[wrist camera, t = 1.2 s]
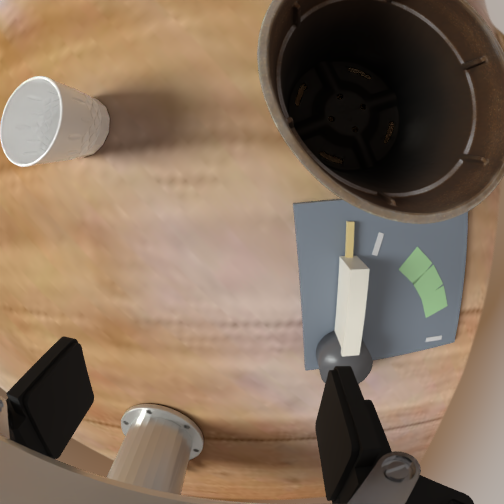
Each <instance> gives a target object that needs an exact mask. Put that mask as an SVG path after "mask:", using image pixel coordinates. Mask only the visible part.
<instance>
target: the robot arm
mask: <svg viewBox="0 0 504 504" xmlns="http://www.w3.org/2000/svg"><path fill="white" fill-rule="evenodd" d="M7 396H8V399H7V400H5V399H4V398H3V397H1V396H0V504H264V503H245V502H231V501H221V500H212V499H204V498H197V497H190V496H184V495H181V491H182V487H183V483H184V478H185V474H186V470H187V466H188V461H189V460H190V459H193V458H195V457H196V456H198V455H199V454H200V453H201V451H202V449H203V444H204V437H203V434H202V432H201V430H200V429H199V427H198V426H197V425H196V424H195V423H194V422H193V421H192V420H190V419H189V418H188V417H186V416H185V415H183V414H182V413H180V412H178V411H175V410H173V409H171V408H168V407H165V406H160V405H156V404H139V405H135V406H133V407H131V408H129V409H128V410H127V411H126V412H125V413H124V415H123V417H122V420H121V427H122V431H123V433H124V435H125V438H124V440H123V443H122V445H121V447H120V449H119V451H118V454H117V456H116V458H115V460H114V463H113V465H112V467H111V469H110V471H109V474H108V476H107V478H106V477H103V476H100V475H96V474H94V473H91V472H87V471H84V470H82V469H79V468H76V467H73V466H71V465H68V464H65V463H63V462H60V461H58V460H55V459H57V458H59V457H60V455H61V453H62V452H63V450H64V448H65V447H66V445H67V443H68V442H69V440H70V439H71V437H72V435H73V434H74V432H75V431H76V429H77V427H78V426H79V424H80V423H81V421H82V419H83V418H84V416H85V415H86V413H87V411H88V410H89V408H90V407H91V405H92V403H93V401H94V394H93V391H92V387H91V383H90V380H89V376H88V372H87V368H86V364H85V360H84V356H83V352H82V347H81V345H80V344H79V343H78V341H77V340H76V339H73V338H68V337H62V338H60V339H59V340H58V341H57V342H56V343H55V344H54V345H53V346H52V347H51V348H50V349H49V350H48V351H47V352H46V353H45V354H44V355H43V356H42V357H41V358H40V359H39V360H38V361H37V362H36V363H35V364H34V365H33V366H32V367H31V368H30V369H29V370H28V371H27V372H26V374H25V375H24V376H23V377H22V378H21V379H20V380H19V381H18V382H17V383H16V384H15V385H14V386H13V387H12V388H11V389H10V390H9V391H8V392H7ZM316 435H317V441H318V447H319V453H320V459H321V466H322V472H323V479H324V485H325V492H326V498H327V500H328V501H330V500H332V504H474V503H473V500H472V499H471V498H470V497H469V496H468V495H466V494H464V493H462V492H459V491H456V490H454V489H452V488H449V487H447V486H444V485H442V484H439V483H437V482H435V481H432V480H430V479H428V478H426V477H423V476H421V475H420V472H421V470H420V465H419V463H418V461H417V460H416V459H415V458H414V457H413V456H411V455H409V454H407V453H403V452H392V451H391V448H390V446H389V443H388V441H387V438H386V435H385V433H384V430H383V428H382V425H381V423H380V420H379V418H378V415H377V412H376V410H375V407H374V405H373V403H372V401H371V400H364V398H363V395H362V393H361V390H360V388H359V385H358V382H357V380H356V377H355V375H354V372H353V370H352V367H351V366H335V367H334V369H333V370H329V372H328V376H327V380H326V384H325V388H324V392H323V396H322V400H321V404H320V408H319V412H318V416H317V420H316Z"/></svg>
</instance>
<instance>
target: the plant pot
mask: <svg viewBox="0 0 504 504" xmlns="http://www.w3.org/2000/svg"><path fill="white" fill-rule="evenodd" d="M349 67H352V68H356V69H358V70H360V71H362V72H364V73H366V74H368V75H369V76H371V79H366V78H365V77H363V76H361V75H359V74H355V73H352V72H350V71H349V70H348V68H349ZM258 71H259V78H260V83H261V87H262V91H263V95H264V98H265V101H266V104H267V106H268V109H269V112H270V114H271V116H272V119H273V121H274V123H275V125H276V127H277V129H278V131H279V132H280V134H281V136H282V137H283V139H284V141H285V142H286V144H287V145H288V146H289V148H290V149H291V151H292V152H293V153H294V155H295V156H296V157H297V158H298V160H299V161H300V162H301V163H302V164H303V165H304V167H305V168H306V169H307V170H308V171H309V172H310V173H311V174H312V175H313V176H314V177H315V178H316V179H317V180H318V181H319V182H320V183H322V184H323V185H324V186H325V187H326V188H328V189H329V190H330V191H331V192H333V193H334V194H335V195H337V196H338V197H340V198H341V199H343V200H344V201H346V202H348V203H349V204H351V205H353V206H355V207H357V208H359V209H361V210H363V211H365V212H367V213H370V214H372V215H375V216H378V217H381V218H385V219H388V220H393V221H397V222H402V223H412V224H428V223H436V222H441V221H445V220H449V219H452V218H454V217H457V216H459V215H462V214H464V213H466V212H468V211H469V210H471V209H473V208H474V207H475V206H477V205H478V204H480V203H481V202H482V201H483V200H484V199H485V198H486V197H487V196H489V194H490V193H491V192H492V191H493V190H494V189H495V188H496V186H497V185H498V184H499V182H500V181H501V179H502V178H503V176H504V52H503V50H502V48H501V46H500V44H499V42H498V41H497V39H496V37H495V36H494V34H493V33H492V31H491V29H490V28H489V27H488V25H487V24H486V23H485V21H484V20H483V19H482V17H481V16H480V15H479V14H478V13H477V12H476V11H475V9H474V8H473V7H472V6H471V5H470V4H469V3H468V2H467V1H466V0H273V1H272V3H271V4H270V6H269V8H268V10H267V12H266V14H265V17H264V19H263V22H262V26H261V30H260V34H259V40H258ZM303 83H304V84H306V85H307V89H306V90H304V94H303V96H302V98H301V103H300V105H299V106H298V107H297V106H296V104H295V100H296V96H297V93H298V90H299V88H300V86H301V85H302V84H303ZM338 94H342V95H343V99H342V100H339V99H337V95H338ZM361 104H364V105H366V109H365V110H362V109H360V105H361ZM329 116H334V118H335V120H334V121H333V122H330V121H329V119H328V117H329ZM391 121H392V122H393V123H394V127H393V132H392V135H391V137H390V139H389V141H388V142H387V143H386V144H384V139H385V136H386V134H387V130H388V126H389V122H391ZM354 126H356V127H357V128H358V132H353V131H352V127H354ZM321 151H324V152H326V153H327V154H329V155H332V156H335V157H339V158H342V159H343V160H344V162H343V163H342V164H338V163H335V162H332V161H330V160H327V159H325V158H324V157H322V156H321V155H320V154H319V152H321Z"/></svg>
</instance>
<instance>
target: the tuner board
mask: <svg viewBox="0 0 504 504" xmlns="http://www.w3.org/2000/svg"><path fill="white" fill-rule="evenodd" d="M293 209H294V220H295V230H296V242H297V253H298V266H299V279H300V292H301V307H302V323H303V341H304V361H305V370H314V369H319V366H318V362H317V358H316V348H317V345H318V343H319V342H320V340H321V339H322V338H323V337H324V336H325V335H326V334H328V333H330V332H332V331H334V330H335V318H336V306H337V292H338V276H339V257H340V256H345V245H346V221H354V222H355V224H354V248H353V256H358V258H359V259H360V260H361V261H362V262H363V263H364V264H365V265H366V266H367V267H368V268H369V269H370V270H369V281H368V291H367V301H366V310H365V318H364V326H363V333H362V339H363V341H364V343H365V345H366V347H367V349H368V351H369V353H370V355H371V357H372V360H378V359H383V358H388V357H393V356H398V355H403V354H407V353H412V352H416V351H421V350H425V349H429V348H433V347H437V346H441V345H445V344H449V343H453V342H454V341H455V336H456V331H457V325H458V319H459V313H460V307H461V300H462V292H463V284H464V274H465V264H466V250H467V231H468V212H466V213H464V214H462V215H459V216H457V217H454V218H452V219H449V220H445V221H441V222H436V223H428V224H412V223H402V222H397V221H393V220H388V219H385V218H381V217H378V216H375V215H372V214H370V213H367V212H365V211H363V210H361V209H359V208H357V207H355V206H353V205H351V204H349V203H348V202H346V201H344V200H343V199H333V200H322V201H311V202H300V203H293Z"/></svg>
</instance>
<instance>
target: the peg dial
mask: <svg viewBox="0 0 504 504" xmlns="http://www.w3.org/2000/svg"><path fill="white" fill-rule="evenodd" d="M354 224H355V222H354V221H346V245H345V256H340V257H339V276H338V292H337V306H336V318H335V330H334V331H332V332H330V333H328V334H326V335H325V336H324V337H323V338H322V339H321V340H320V342H319V343H318V345H317V348H316V358H317V362H318V366H319V370H320V374H321V378H322V380H323V381H324V382H325V383H326V380H327V376H328V372H329V370H333V369H334V367H335V366H351V367H352V370H353V372H354V375H355V377H356V380H357V382H358V384H359V383H360V382H362V381H363V380H364V379H365V378H366V377H367V376H368V374H369V373H370V371H371V369H372V364H373V361H372V357H371V355H370V353H369V351H368V349H367V347H366V345H365V343H364V341H363V339H362V333H363V326H364V318H365V310H366V301H367V291H368V281H369V270H370V269H369V268H368V267H367V266H366V265H365V264H364V263H363V262H362V261H361V260H360V259H359V258H358V256H353V248H354Z"/></svg>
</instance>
